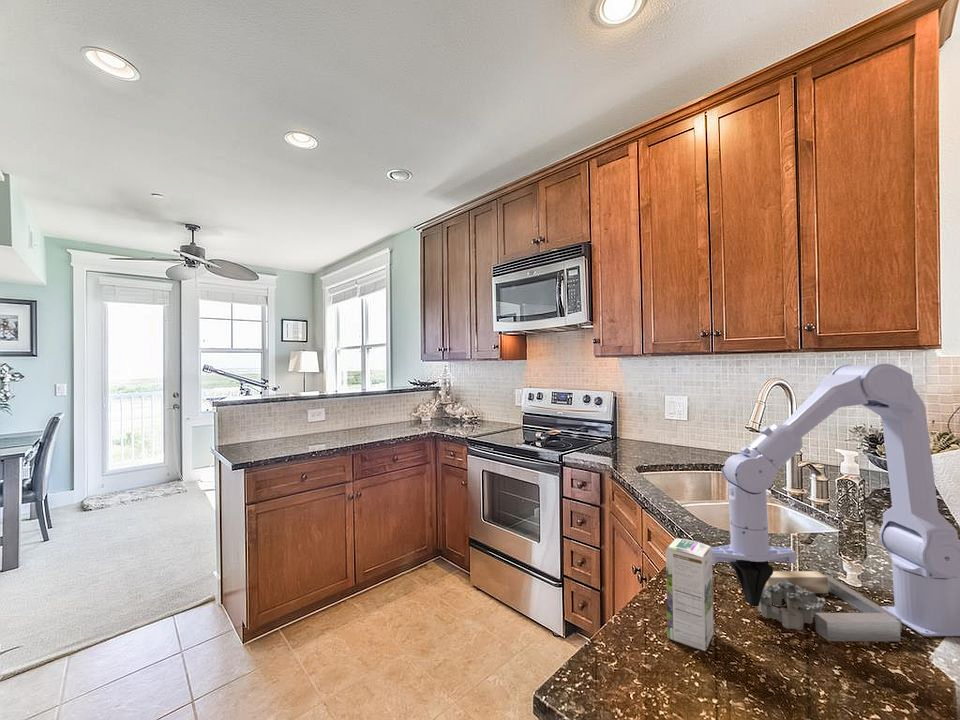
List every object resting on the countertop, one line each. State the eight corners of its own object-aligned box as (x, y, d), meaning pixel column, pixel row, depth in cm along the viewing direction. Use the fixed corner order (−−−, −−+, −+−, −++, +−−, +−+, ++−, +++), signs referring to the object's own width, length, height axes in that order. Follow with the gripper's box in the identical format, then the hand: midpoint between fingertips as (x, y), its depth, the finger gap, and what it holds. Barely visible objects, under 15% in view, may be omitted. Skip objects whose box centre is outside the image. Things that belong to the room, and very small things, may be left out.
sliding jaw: (818, 586, 83) (817, 571, 84) (828, 593, 81) (827, 577, 81) (760, 586, 84) (760, 571, 84) (768, 593, 81) (768, 577, 81)
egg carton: (795, 634, 69) (794, 609, 69) (749, 612, 76) (748, 588, 76) (831, 617, 74) (830, 592, 74) (784, 597, 80) (783, 574, 81)
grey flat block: (827, 584, 84) (826, 569, 84) (917, 641, 66) (916, 621, 66) (757, 584, 85) (756, 569, 85) (827, 641, 67) (826, 621, 67)
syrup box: (676, 622, 73) (673, 536, 73) (715, 635, 69) (712, 544, 70) (667, 639, 68) (663, 547, 69) (708, 653, 65) (704, 556, 65)
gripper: (775, 516, 79) (779, 591, 78) (695, 517, 79) (698, 591, 79) (803, 530, 72) (807, 613, 71) (715, 531, 72) (718, 612, 72)
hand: (751, 603), depth 75 cm, fingers closed
